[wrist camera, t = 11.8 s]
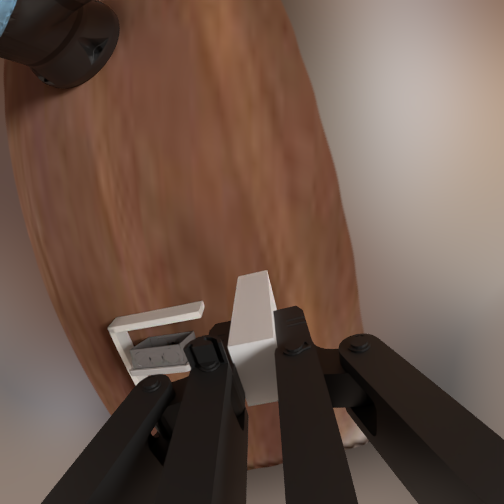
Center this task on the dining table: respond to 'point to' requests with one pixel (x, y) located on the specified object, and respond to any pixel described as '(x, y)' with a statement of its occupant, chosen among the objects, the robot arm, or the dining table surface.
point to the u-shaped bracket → (148, 320)
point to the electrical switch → (161, 355)
